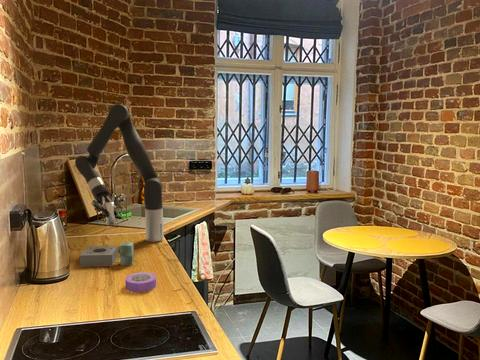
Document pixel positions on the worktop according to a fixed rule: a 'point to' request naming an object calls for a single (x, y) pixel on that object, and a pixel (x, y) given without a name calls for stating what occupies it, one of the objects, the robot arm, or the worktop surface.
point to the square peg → (126, 253)
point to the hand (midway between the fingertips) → (112, 215)
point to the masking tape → (140, 282)
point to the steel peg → (110, 209)
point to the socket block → (99, 256)
